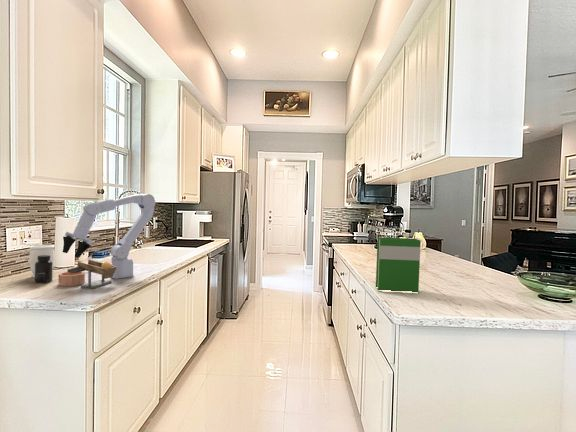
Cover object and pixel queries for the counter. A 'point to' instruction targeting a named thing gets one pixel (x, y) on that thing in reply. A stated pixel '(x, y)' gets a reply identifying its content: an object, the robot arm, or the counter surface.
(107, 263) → the ball
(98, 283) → the trough stand
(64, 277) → the cup
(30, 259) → the white tapered cylinder
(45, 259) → the supplement bottle
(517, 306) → the counter surface
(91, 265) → the brown tray
